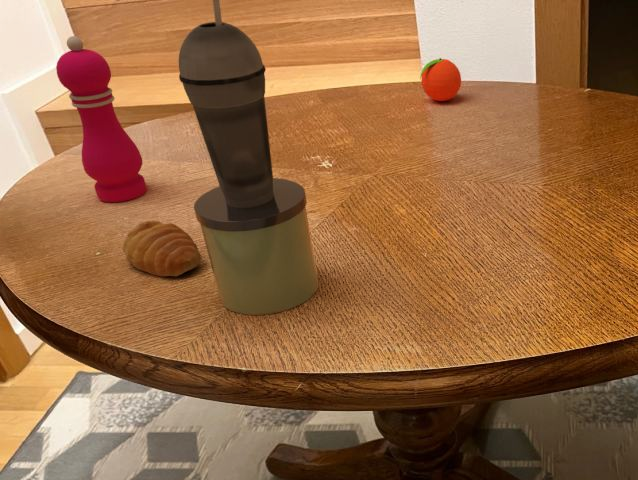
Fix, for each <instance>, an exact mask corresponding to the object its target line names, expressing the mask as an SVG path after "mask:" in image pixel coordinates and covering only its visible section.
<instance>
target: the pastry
mask: <svg viewBox="0 0 638 480" xmlns="http://www.w3.org/2000/svg"><path fill="white" fill-rule="evenodd" d="M122 251H123V254H124V255H125V257H126V260H127V262H129V264H130V265H131V266H134V267H135V268H136V269H137V270H140V271H142V272H146V273H149V274H150V275H155V276H158V277H179V276H180V275H183V274H184V273H186V272H188V271H191V270H193V269H195V268H196V267H198V266H199V264H200V260H201V258H202V256H201V253H200V251H199V248H198V246H197V244H196V243H195V242H194V240H193V238H192V237H191V236H190V234H188V233H187V232H186V231H185V230H184V229H182V228H181V227H179V226H178V225H176V224H174V223H172V222H171V223H163V222H161V221H159V220H146V221H144V222H140V223H139V224H137V225H136V226H135V227H134V228H133V229H132V230H129V232H128V233H127V235H126V236H125V239H124V241H123V246H122Z"/></svg>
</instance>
